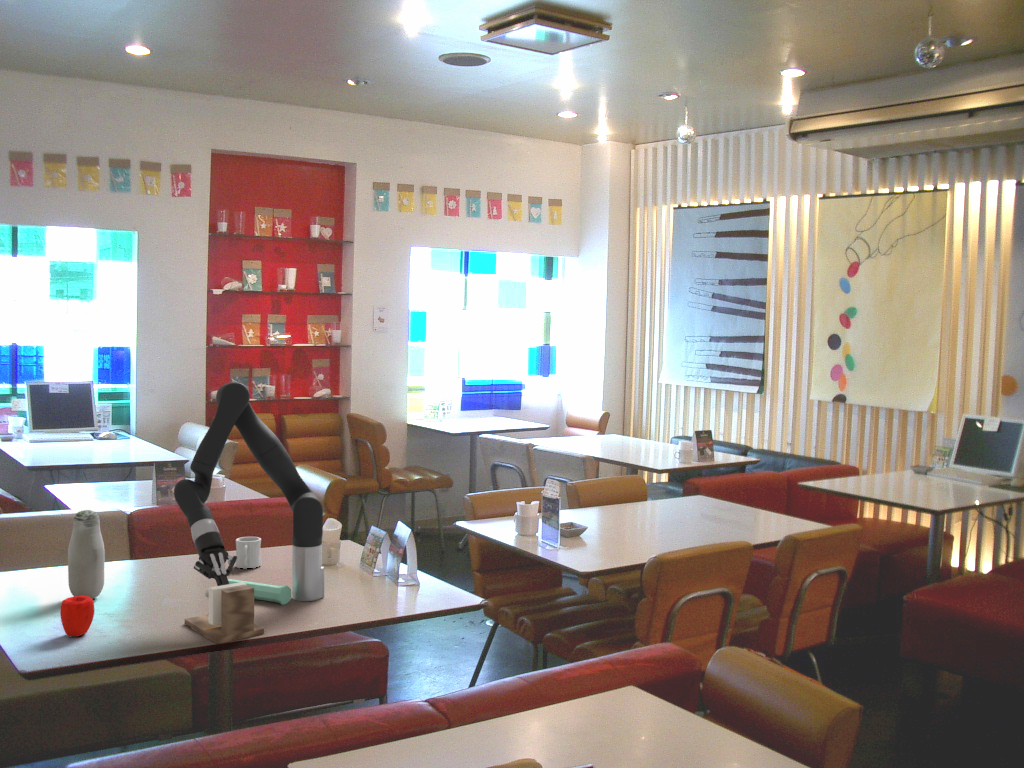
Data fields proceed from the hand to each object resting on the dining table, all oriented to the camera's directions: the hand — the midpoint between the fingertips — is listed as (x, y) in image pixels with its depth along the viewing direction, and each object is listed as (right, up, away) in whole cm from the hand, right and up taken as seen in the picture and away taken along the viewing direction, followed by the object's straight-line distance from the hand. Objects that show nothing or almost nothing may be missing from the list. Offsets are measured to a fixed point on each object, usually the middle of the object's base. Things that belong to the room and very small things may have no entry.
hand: (224, 588), depth 274 cm
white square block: (+1, -9, -1) cm, 9 cm away
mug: (-13, -8, +71) cm, 72 cm away
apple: (-39, -12, -7) cm, 41 cm away
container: (+1, -7, +34) cm, 35 cm away
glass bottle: (-52, -10, +28) cm, 60 cm away
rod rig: (-1, -12, +1) cm, 12 cm away
